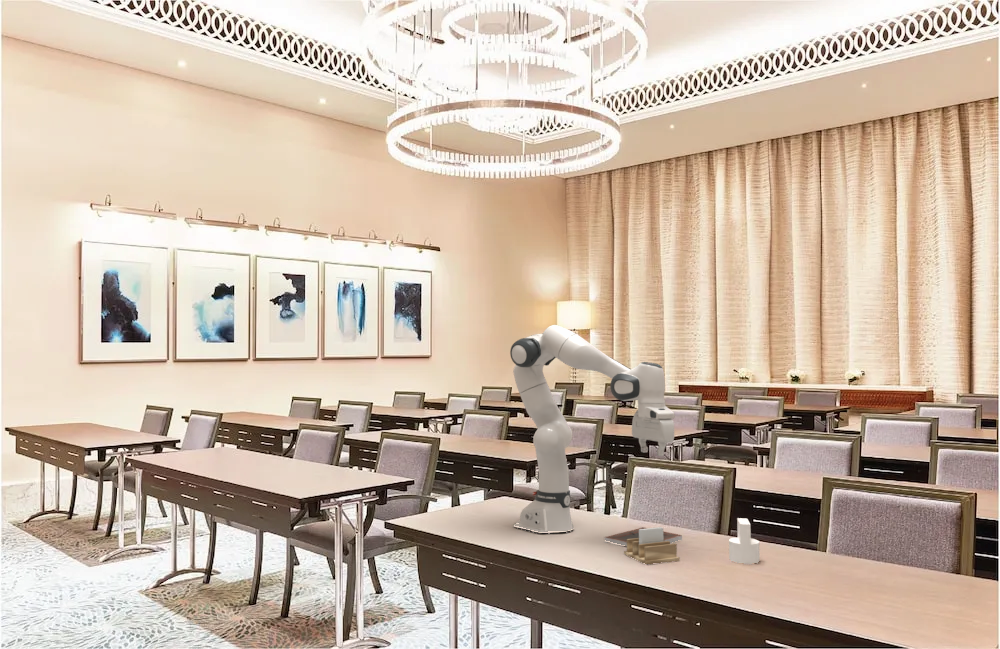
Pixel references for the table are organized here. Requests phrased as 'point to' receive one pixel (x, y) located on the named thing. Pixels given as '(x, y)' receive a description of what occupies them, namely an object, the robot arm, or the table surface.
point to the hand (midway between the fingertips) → (652, 454)
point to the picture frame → (623, 537)
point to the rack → (652, 551)
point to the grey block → (650, 535)
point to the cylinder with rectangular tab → (744, 544)
